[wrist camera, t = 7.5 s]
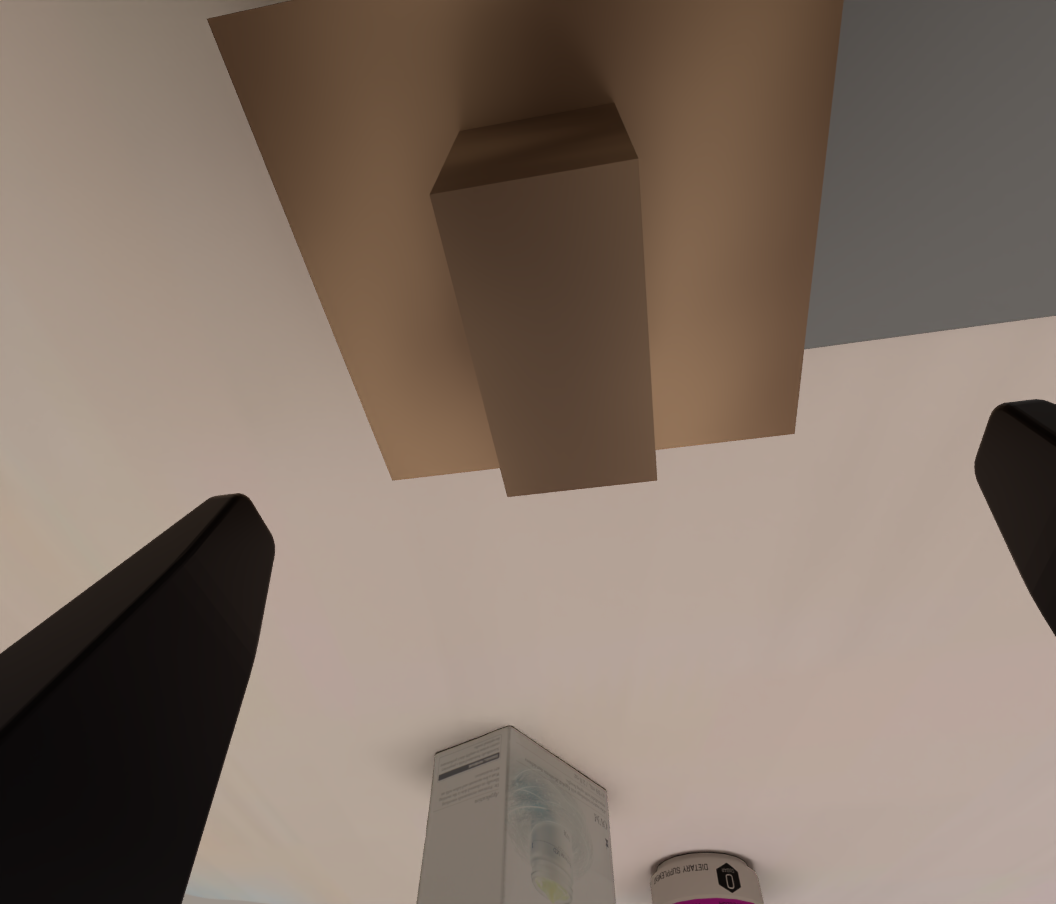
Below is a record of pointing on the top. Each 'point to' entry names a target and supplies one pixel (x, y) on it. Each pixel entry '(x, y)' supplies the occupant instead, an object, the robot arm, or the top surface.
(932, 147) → the rubber mat
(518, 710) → the top surface
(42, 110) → the top surface
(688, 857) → the supplement can
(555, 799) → the skincare box
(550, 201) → the walnut lid
